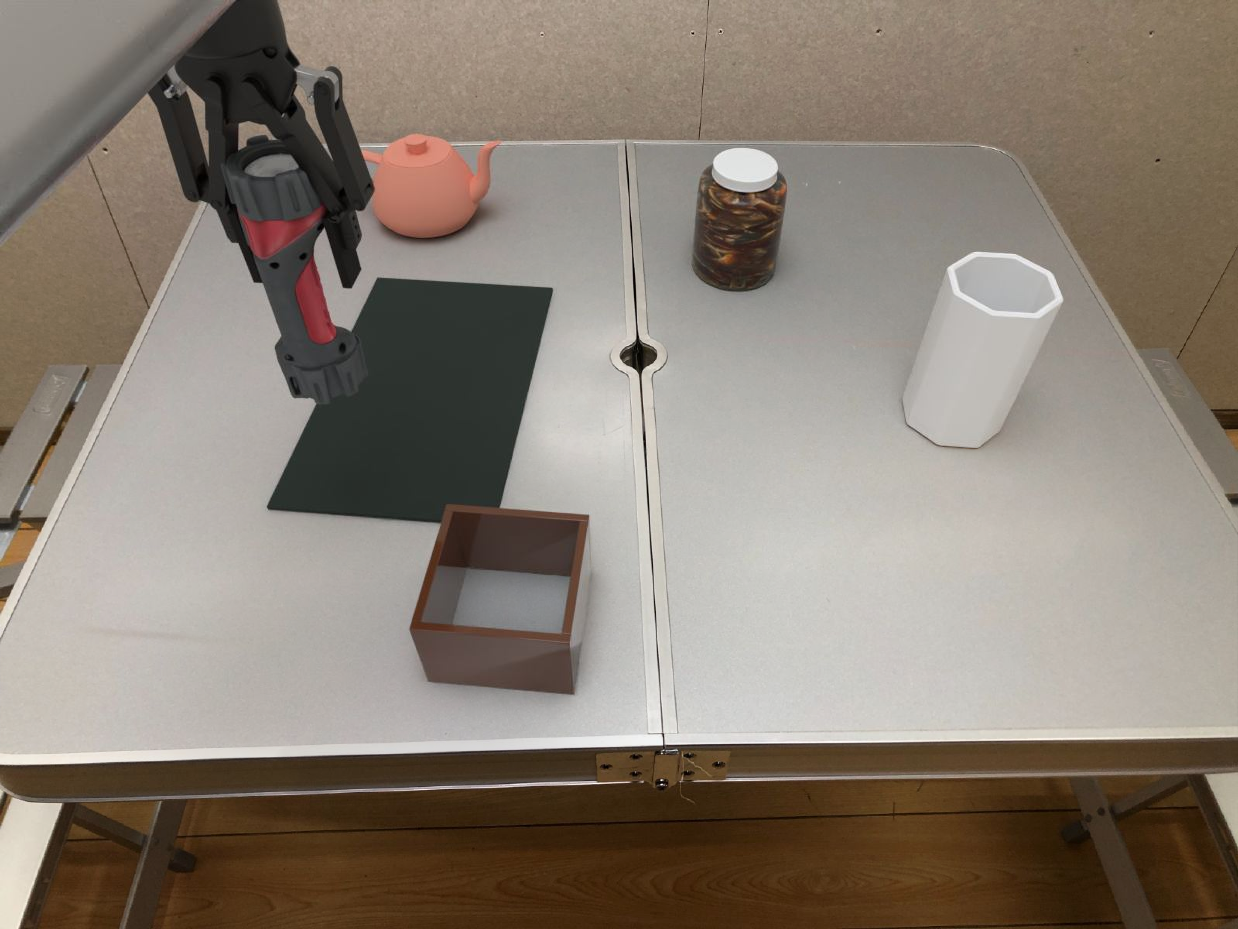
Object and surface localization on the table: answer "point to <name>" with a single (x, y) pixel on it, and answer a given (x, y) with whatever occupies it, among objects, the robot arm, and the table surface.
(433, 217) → the teapot
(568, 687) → the brown open box
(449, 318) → the mat
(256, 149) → the flashlight
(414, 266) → the table surface
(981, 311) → the cup
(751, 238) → the jar
